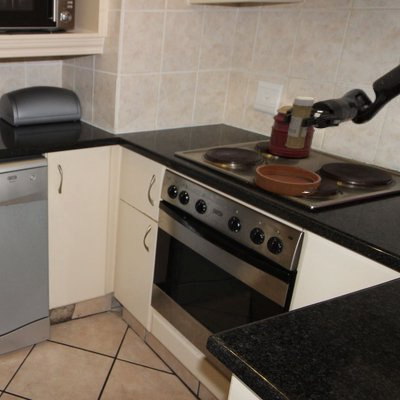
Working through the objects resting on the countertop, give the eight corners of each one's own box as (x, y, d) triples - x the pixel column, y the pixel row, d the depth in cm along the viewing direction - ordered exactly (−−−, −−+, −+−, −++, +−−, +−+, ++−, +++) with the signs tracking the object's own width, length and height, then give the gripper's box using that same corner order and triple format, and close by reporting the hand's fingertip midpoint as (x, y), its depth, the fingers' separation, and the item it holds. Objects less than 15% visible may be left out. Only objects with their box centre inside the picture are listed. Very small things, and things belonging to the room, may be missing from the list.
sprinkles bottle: (306, 149, 127) (318, 99, 122) (290, 149, 127) (300, 99, 122) (297, 144, 132) (308, 95, 126) (281, 144, 131) (291, 95, 126)
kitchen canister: (318, 154, 160) (328, 101, 154) (295, 160, 154) (305, 105, 147) (281, 146, 170) (290, 96, 164) (259, 151, 164) (267, 100, 158)
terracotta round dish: (329, 188, 131) (332, 177, 130) (296, 201, 123) (299, 188, 122) (275, 172, 144) (277, 161, 143) (242, 182, 136) (244, 170, 134)
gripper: (306, 95, 138) (271, 102, 129) (359, 104, 127) (324, 112, 118) (301, 121, 141) (266, 129, 132) (352, 131, 130) (318, 141, 121)
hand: (294, 121), depth 125 cm, fingers closed on sprinkles bottle, 4 cm apart
